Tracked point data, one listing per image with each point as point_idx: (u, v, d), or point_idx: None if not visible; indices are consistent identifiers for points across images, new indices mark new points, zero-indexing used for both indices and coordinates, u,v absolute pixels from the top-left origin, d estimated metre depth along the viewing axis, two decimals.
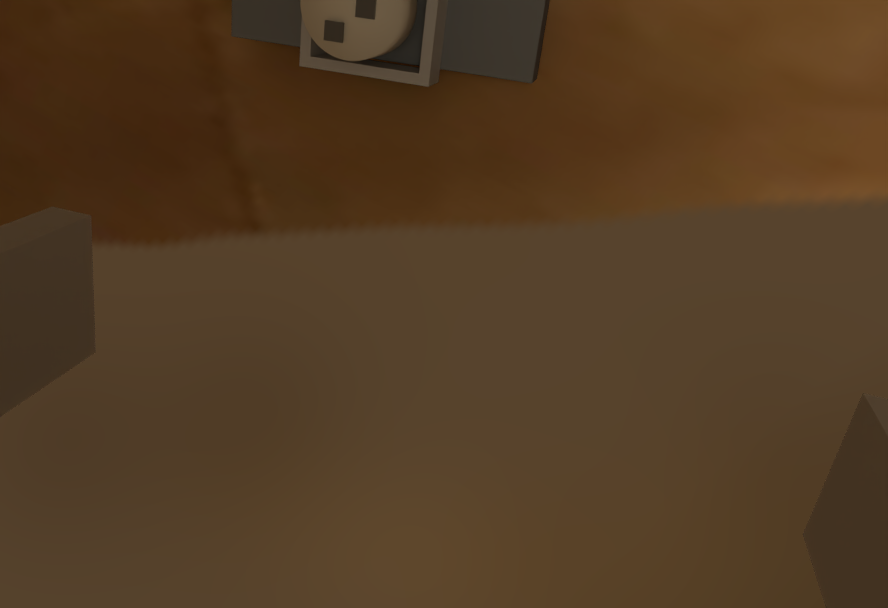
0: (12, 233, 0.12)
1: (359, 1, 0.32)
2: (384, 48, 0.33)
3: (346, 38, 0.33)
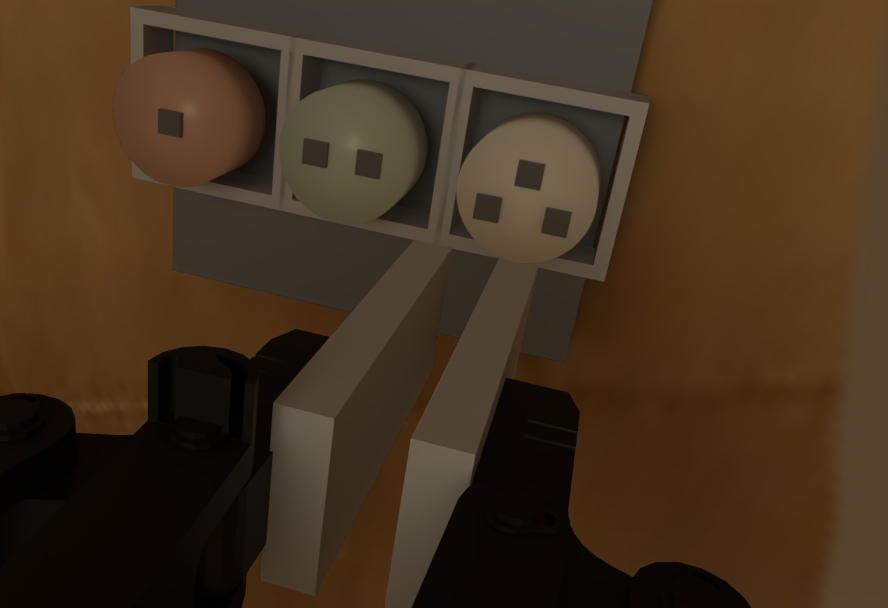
0: (412, 266, 0.14)
1: (520, 182, 0.24)
2: (584, 154, 0.23)
3: (566, 206, 0.24)
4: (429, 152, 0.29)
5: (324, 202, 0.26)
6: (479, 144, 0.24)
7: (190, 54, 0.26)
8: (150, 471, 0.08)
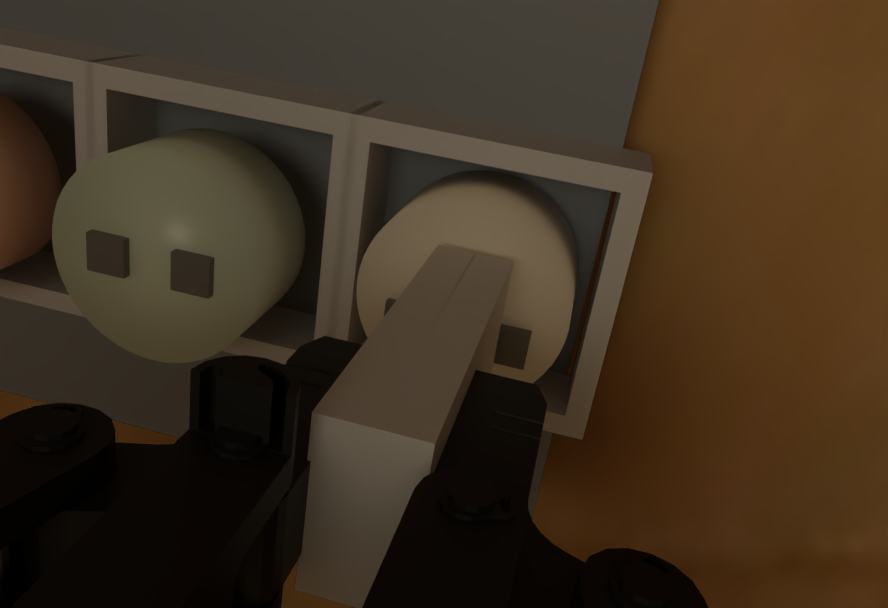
0: (438, 272, 0.14)
1: None
2: (550, 245, 0.15)
3: (524, 322, 0.16)
4: (320, 231, 0.19)
5: (130, 329, 0.16)
6: (387, 227, 0.15)
7: None
8: (191, 481, 0.08)
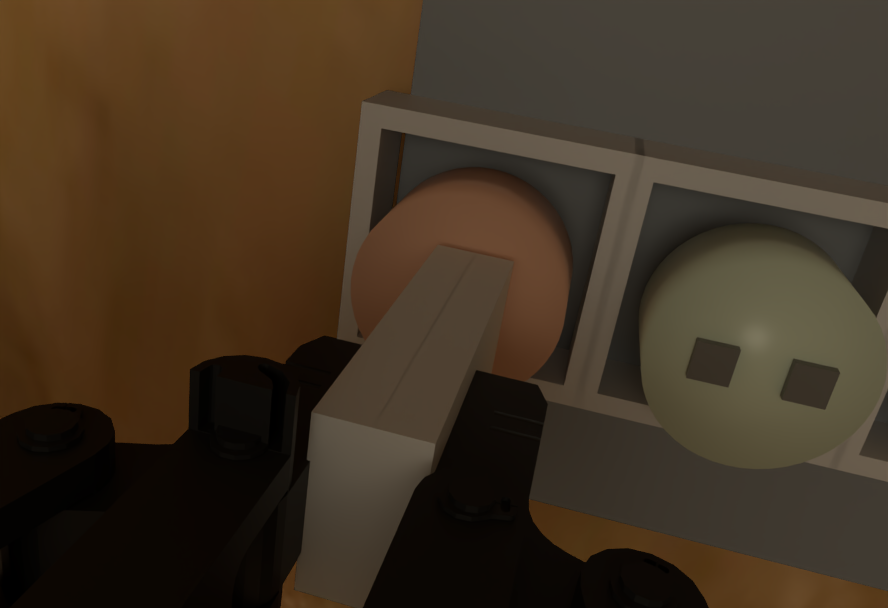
0: (438, 271, 0.14)
1: None
2: None
3: None
4: None
5: (710, 435, 0.16)
6: None
7: (491, 192, 0.15)
8: (190, 481, 0.08)
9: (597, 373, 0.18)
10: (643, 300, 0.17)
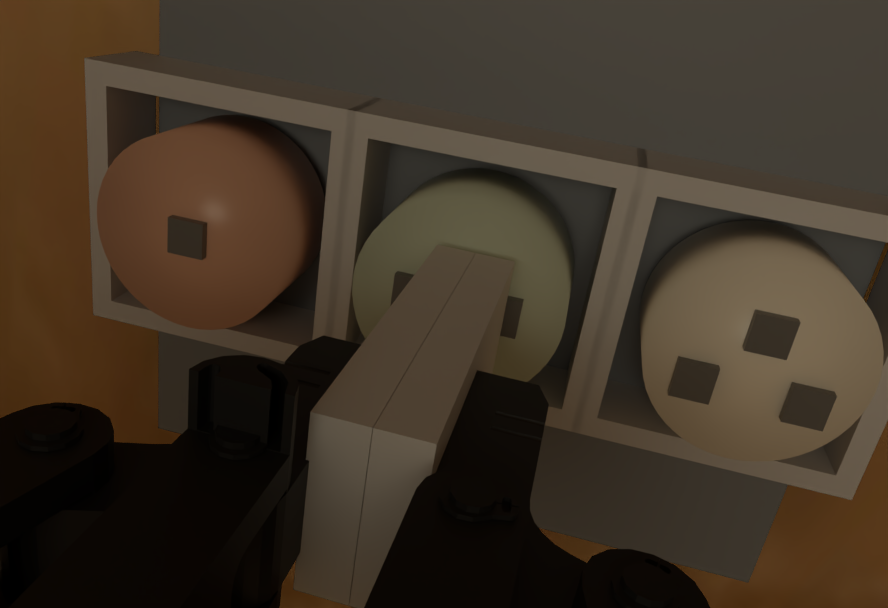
0: (437, 272, 0.14)
1: (755, 346, 0.15)
2: (866, 306, 0.14)
3: (827, 382, 0.15)
4: None
5: None
6: (688, 284, 0.15)
7: (218, 132, 0.16)
8: (189, 481, 0.08)
9: (341, 336, 0.18)
10: None
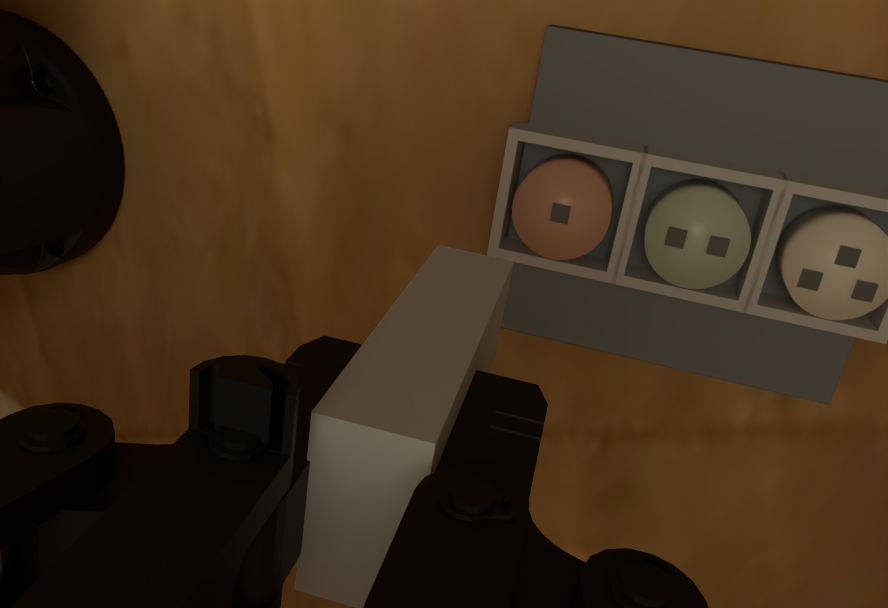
0: (438, 271, 0.14)
1: (840, 262, 0.33)
2: None
3: (873, 279, 0.33)
4: None
5: (675, 273, 0.35)
6: (809, 234, 0.33)
7: (577, 163, 0.35)
8: (190, 481, 0.08)
9: (624, 265, 0.36)
10: (647, 216, 0.36)
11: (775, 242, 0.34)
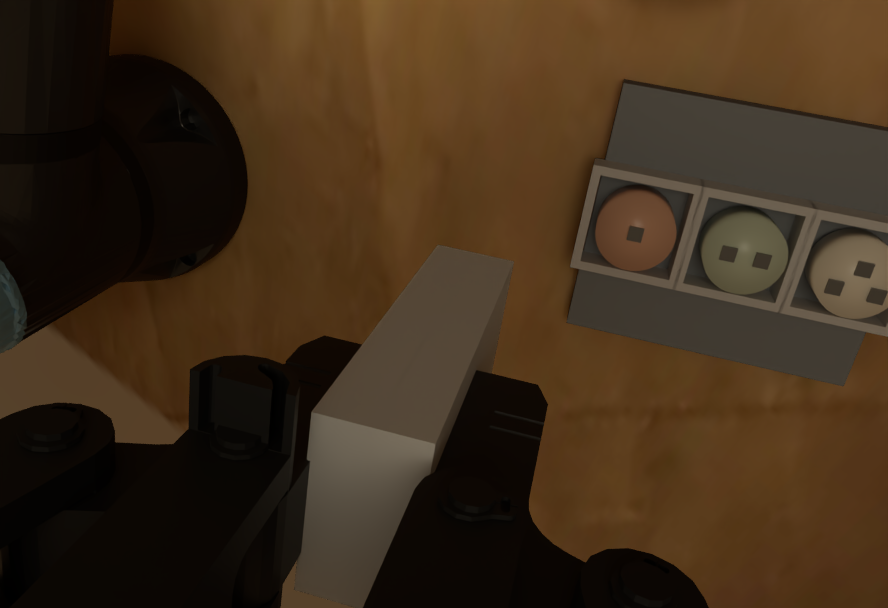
0: (438, 272, 0.14)
1: (858, 273, 0.42)
2: None
3: (884, 287, 0.42)
4: None
5: (727, 282, 0.43)
6: (834, 251, 0.42)
7: (649, 194, 0.43)
8: (190, 481, 0.08)
9: (683, 274, 0.45)
10: (701, 235, 0.45)
11: (806, 257, 0.43)
